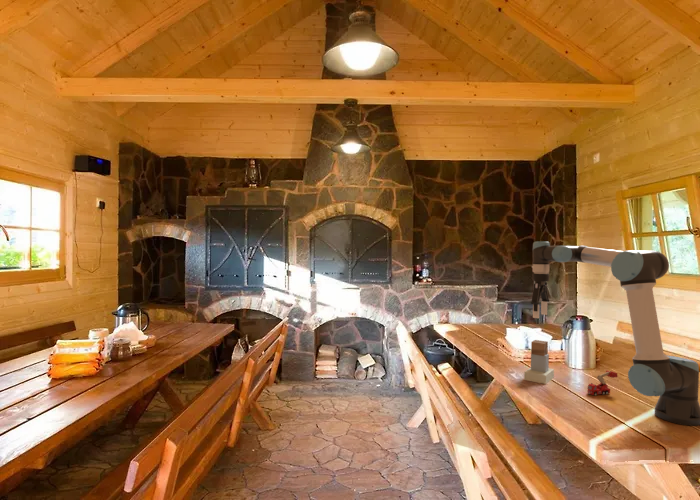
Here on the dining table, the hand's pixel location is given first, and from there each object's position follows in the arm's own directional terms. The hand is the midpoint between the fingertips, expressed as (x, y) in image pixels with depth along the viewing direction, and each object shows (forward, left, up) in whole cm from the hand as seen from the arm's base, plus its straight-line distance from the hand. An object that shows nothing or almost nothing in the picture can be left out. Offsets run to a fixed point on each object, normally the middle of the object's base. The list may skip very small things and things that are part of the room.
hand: (540, 316), depth 220 cm
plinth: (0, 0, -31) cm, 31 cm away
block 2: (0, 0, -26) cm, 27 cm away
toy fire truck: (-5, -28, -31) cm, 42 cm away
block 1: (0, 0, -18) cm, 19 cm away
